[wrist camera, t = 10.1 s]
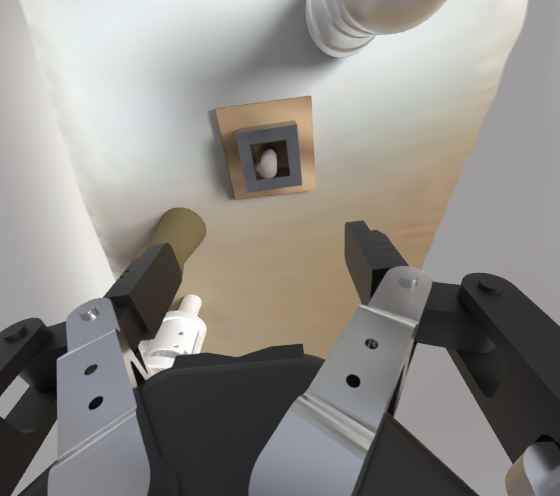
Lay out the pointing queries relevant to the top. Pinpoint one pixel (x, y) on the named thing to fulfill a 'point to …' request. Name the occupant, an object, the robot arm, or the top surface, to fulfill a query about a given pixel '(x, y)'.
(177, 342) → the strainer
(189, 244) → the cork
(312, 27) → the plastic bottle
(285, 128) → the grey hollow square block
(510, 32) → the top surface
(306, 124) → the toggle switch
